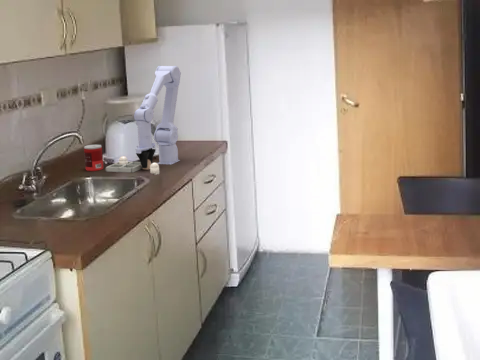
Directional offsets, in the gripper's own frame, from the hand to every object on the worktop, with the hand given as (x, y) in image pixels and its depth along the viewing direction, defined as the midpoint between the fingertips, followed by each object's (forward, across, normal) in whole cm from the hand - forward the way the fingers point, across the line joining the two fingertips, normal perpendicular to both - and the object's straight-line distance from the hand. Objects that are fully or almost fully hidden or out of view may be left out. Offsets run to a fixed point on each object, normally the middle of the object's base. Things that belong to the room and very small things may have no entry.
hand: (146, 166), depth 297 cm
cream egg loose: (+2, +6, +7) cm, 10 cm away
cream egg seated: (+1, -1, -12) cm, 12 cm away
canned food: (+2, +6, -23) cm, 24 cm away
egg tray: (+1, +2, -9) cm, 9 cm away
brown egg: (+1, 0, 0) cm, 1 cm away
